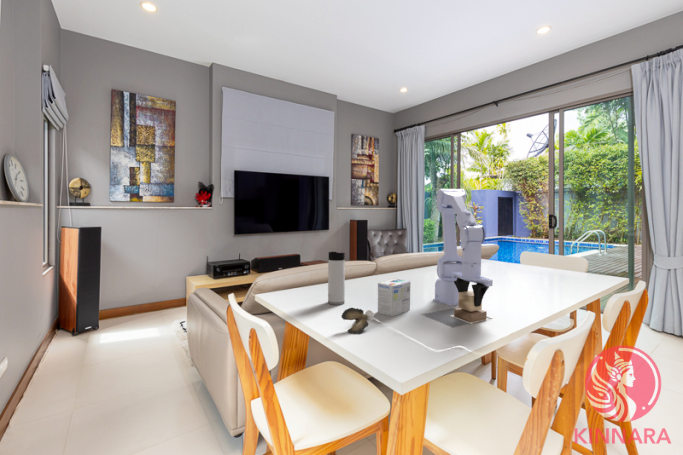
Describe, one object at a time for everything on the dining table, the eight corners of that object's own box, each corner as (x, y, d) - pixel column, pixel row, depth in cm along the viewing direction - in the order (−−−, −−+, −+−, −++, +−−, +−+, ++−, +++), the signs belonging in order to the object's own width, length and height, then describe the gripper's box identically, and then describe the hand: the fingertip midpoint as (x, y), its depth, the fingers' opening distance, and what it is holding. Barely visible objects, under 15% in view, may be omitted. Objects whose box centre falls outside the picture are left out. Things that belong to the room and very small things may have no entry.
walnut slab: (454, 316, 108) (454, 308, 107) (468, 313, 111) (469, 306, 111) (471, 322, 101) (471, 314, 101) (486, 319, 105) (486, 311, 105)
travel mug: (325, 304, 122) (325, 251, 121) (332, 300, 128) (332, 249, 127) (340, 306, 119) (340, 252, 118) (346, 301, 125) (347, 250, 125)
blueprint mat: (420, 315, 109) (421, 314, 109) (459, 308, 118) (459, 307, 118) (454, 329, 97) (454, 327, 97) (494, 320, 105) (494, 318, 105)
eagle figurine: (350, 317, 103) (335, 320, 95) (363, 300, 102) (349, 302, 94) (367, 335, 99) (353, 339, 91) (380, 317, 98) (367, 320, 90)
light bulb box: (395, 307, 119) (395, 278, 118) (410, 311, 114) (411, 280, 114) (376, 313, 111) (377, 282, 111) (392, 318, 107) (393, 285, 106)
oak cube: (458, 307, 107) (458, 292, 107) (469, 305, 109) (469, 290, 109) (470, 311, 103) (470, 296, 102) (481, 309, 105) (482, 294, 104)
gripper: (445, 260, 110) (444, 299, 110) (481, 266, 97) (480, 311, 98) (460, 259, 113) (459, 297, 114) (497, 265, 100) (496, 308, 101)
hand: (470, 303), depth 106 cm, fingers closed on oak cube, 5 cm apart
